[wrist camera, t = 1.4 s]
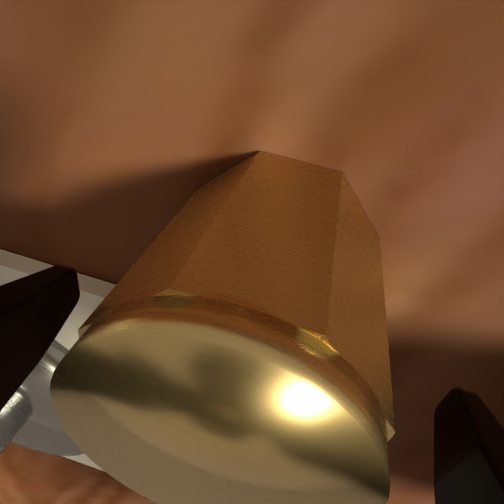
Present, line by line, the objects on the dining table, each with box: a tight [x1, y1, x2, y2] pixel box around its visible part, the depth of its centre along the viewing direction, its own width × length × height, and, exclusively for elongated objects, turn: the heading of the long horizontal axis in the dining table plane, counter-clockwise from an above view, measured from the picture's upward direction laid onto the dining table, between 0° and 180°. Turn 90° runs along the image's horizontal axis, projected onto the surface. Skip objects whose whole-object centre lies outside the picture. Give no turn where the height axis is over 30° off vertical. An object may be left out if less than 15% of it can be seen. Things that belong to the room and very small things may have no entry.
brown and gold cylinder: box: [50, 151, 396, 504], centre depth 9 cm, size 6×6×7 cm
